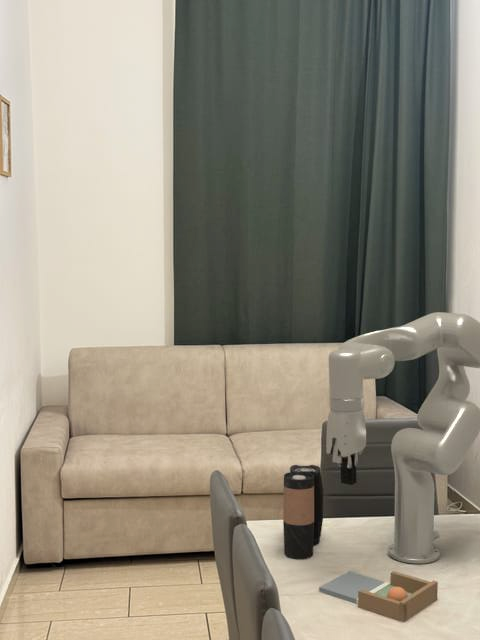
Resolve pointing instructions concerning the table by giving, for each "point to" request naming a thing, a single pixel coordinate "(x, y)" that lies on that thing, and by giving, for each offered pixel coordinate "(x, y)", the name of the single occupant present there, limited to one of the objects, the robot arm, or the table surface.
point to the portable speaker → (317, 497)
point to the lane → (383, 593)
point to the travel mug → (298, 515)
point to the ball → (397, 593)
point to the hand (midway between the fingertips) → (348, 482)
